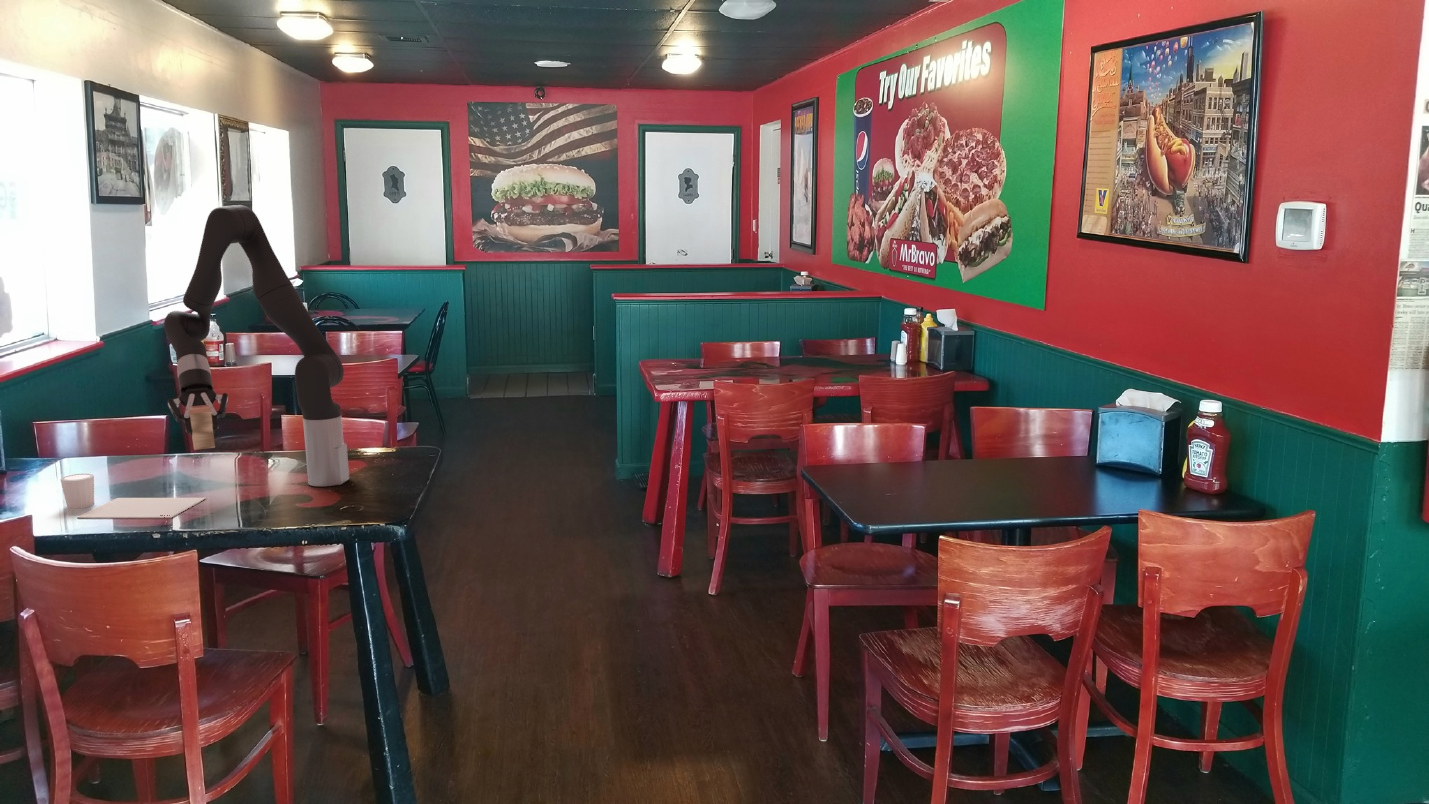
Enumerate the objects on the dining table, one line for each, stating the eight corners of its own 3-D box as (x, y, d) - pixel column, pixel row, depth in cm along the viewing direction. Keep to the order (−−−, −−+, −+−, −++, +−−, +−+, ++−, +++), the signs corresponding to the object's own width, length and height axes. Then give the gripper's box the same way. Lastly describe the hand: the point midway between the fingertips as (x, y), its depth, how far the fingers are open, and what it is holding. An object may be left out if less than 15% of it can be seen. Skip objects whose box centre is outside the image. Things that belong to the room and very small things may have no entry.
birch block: (213, 443, 264) (209, 404, 262) (215, 447, 260) (210, 407, 258) (193, 446, 262) (188, 406, 260) (194, 450, 258) (189, 409, 256)
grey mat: (206, 498, 258) (206, 497, 258) (171, 518, 242) (171, 517, 242) (117, 499, 258) (117, 497, 258) (77, 518, 243) (76, 517, 243)
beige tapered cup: (81, 509, 250) (78, 481, 248) (57, 508, 251) (53, 479, 250) (103, 501, 256) (100, 473, 255) (79, 500, 258) (76, 472, 256)
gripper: (161, 370, 260) (169, 426, 252) (225, 364, 267) (234, 420, 259) (163, 388, 266) (171, 444, 258) (226, 382, 273) (235, 437, 264)
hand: (202, 431), depth 258 cm, fingers closed on birch block, 4 cm apart
